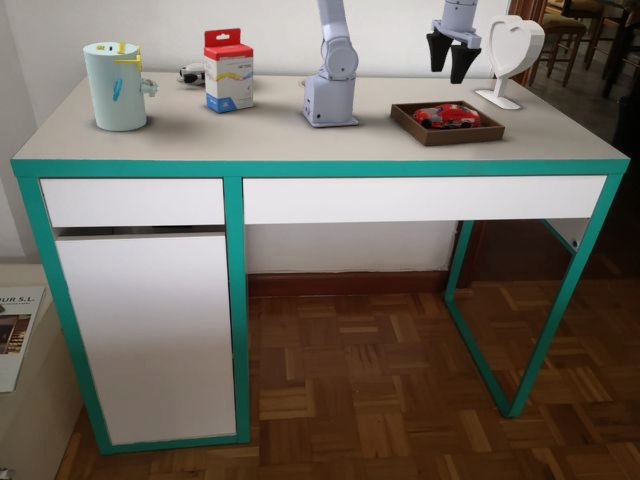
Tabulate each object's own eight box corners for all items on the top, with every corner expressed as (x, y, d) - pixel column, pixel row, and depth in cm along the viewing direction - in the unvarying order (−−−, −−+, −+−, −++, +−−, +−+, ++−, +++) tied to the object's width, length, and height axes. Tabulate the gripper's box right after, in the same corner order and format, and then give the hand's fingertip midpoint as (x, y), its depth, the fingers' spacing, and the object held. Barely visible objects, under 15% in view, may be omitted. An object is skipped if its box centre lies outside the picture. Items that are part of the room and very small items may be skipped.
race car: (413, 128, 102) (416, 108, 100) (410, 118, 107) (413, 99, 104) (479, 133, 102) (484, 113, 100) (474, 123, 106) (479, 104, 104)
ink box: (218, 114, 102) (215, 36, 94) (206, 106, 105) (201, 30, 97) (254, 106, 107) (254, 32, 99) (241, 99, 110) (240, 26, 102)
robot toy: (176, 94, 112) (245, 93, 113) (172, 73, 110) (243, 72, 110) (186, 77, 123) (249, 76, 123) (183, 58, 120) (248, 57, 120)
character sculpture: (164, 141, 90) (156, 63, 82) (93, 145, 87) (78, 63, 79) (159, 102, 106) (151, 33, 98) (98, 104, 102) (86, 33, 95)
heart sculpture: (470, 89, 128) (488, 10, 118) (487, 88, 129) (507, 11, 119) (507, 111, 116) (531, 26, 106) (526, 110, 117) (551, 26, 107)
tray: (424, 146, 96) (427, 132, 94) (389, 116, 108) (391, 104, 106) (501, 139, 101) (505, 126, 100) (460, 112, 113) (463, 100, 111)
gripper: (503, 10, 89) (483, 88, 97) (459, -5, 101) (445, 66, 108) (468, 10, 87) (451, 89, 95) (427, -6, 98) (415, 67, 106)
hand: (445, 77), depth 101 cm, fingers open, 7 cm apart
